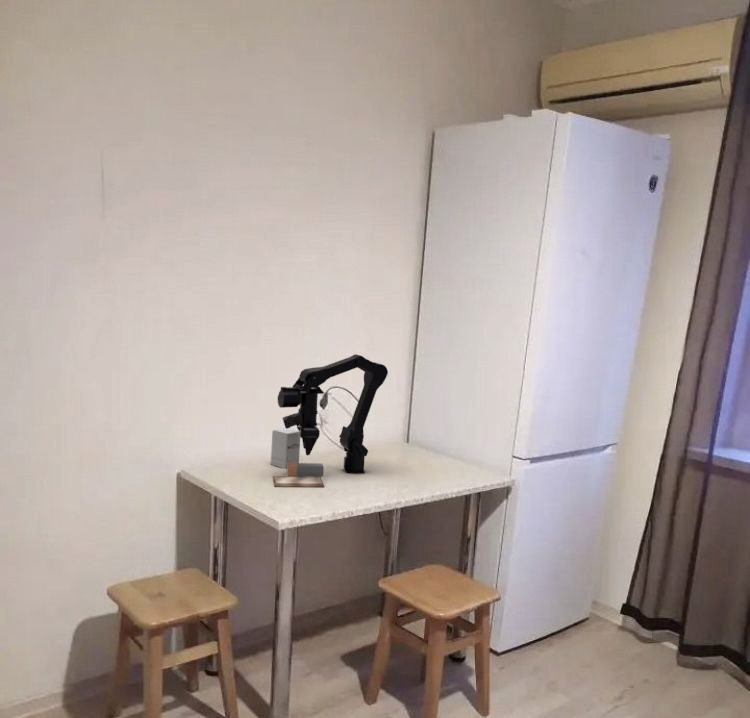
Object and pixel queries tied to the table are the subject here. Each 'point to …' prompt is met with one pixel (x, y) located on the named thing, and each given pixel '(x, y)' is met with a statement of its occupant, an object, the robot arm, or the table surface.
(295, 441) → the supplement box
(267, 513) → the table surface
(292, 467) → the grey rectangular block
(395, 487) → the table surface
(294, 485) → the writing board
